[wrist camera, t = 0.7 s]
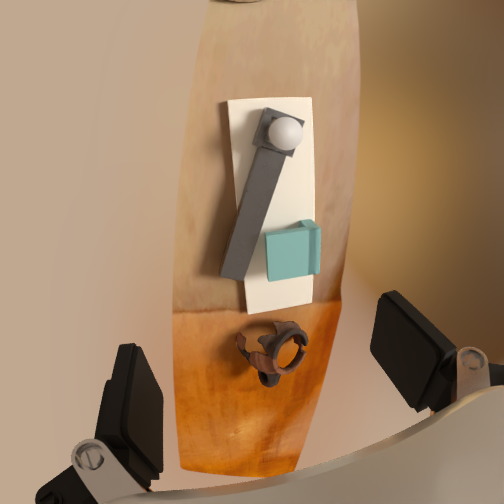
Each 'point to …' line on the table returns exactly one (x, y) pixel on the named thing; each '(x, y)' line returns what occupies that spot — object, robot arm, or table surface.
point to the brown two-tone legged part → (275, 352)
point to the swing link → (254, 199)
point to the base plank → (276, 190)
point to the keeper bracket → (293, 251)
